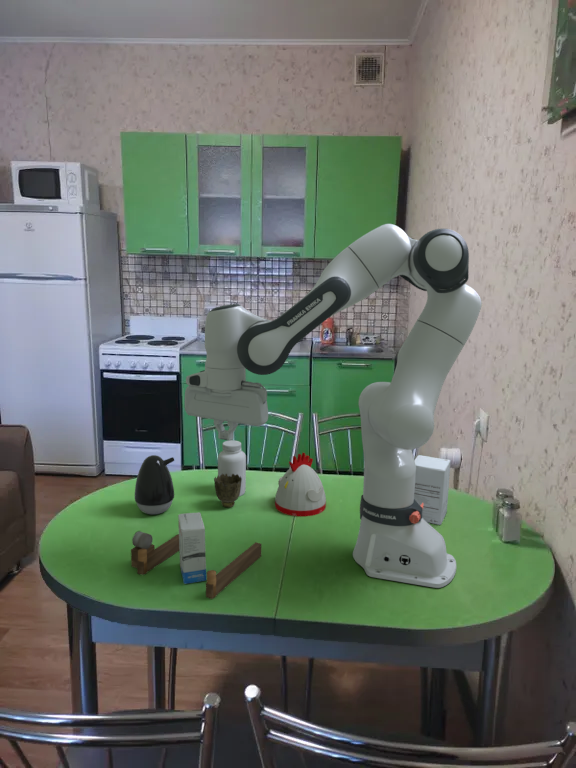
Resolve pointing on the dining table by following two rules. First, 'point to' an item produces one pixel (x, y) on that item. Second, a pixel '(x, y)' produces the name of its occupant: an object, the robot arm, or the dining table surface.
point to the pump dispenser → (154, 486)
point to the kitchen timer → (300, 489)
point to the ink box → (192, 547)
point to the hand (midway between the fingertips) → (225, 439)
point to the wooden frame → (150, 557)
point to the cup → (227, 489)
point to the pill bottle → (233, 462)
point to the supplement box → (432, 487)
